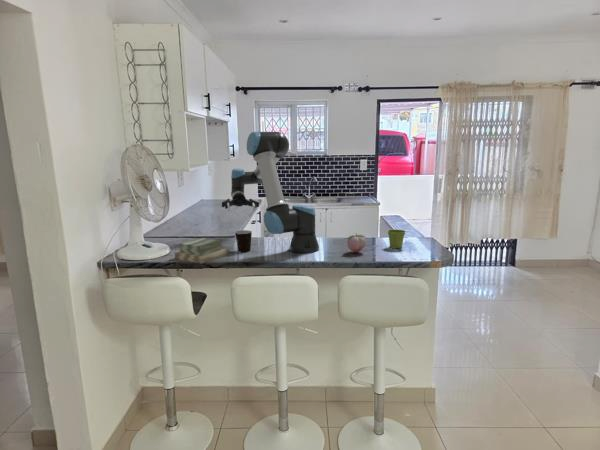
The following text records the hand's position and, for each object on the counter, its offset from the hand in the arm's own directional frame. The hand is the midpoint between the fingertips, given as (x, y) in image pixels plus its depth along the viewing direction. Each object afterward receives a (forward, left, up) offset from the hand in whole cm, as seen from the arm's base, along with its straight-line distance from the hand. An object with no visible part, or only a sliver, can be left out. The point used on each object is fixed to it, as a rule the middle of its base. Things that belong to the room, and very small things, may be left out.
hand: (241, 208), depth 207 cm
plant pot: (-72, -38, -22) cm, 84 cm away
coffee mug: (-6, +7, -22) cm, 23 cm away
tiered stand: (+6, +25, -21) cm, 33 cm away
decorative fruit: (-58, -18, -22) cm, 64 cm away
